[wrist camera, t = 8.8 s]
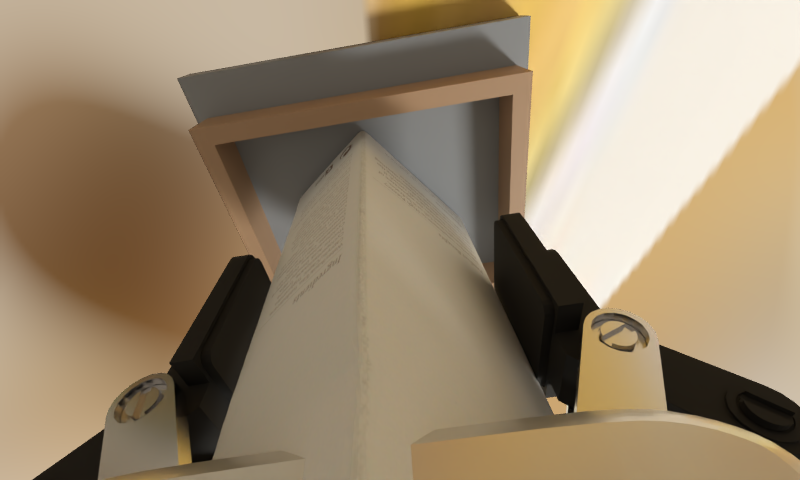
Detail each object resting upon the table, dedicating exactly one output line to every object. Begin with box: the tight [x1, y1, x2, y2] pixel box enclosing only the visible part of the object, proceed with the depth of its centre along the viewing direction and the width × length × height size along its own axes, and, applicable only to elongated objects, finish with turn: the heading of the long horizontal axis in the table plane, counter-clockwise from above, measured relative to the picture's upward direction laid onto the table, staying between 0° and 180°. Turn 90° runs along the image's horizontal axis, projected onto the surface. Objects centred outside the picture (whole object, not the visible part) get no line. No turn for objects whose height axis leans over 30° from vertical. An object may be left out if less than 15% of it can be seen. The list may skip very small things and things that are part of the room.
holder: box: [178, 16, 533, 288], centre depth 15 cm, size 12×12×2 cm
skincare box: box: [212, 131, 554, 480], centre depth 10 cm, size 6×4×12 cm
